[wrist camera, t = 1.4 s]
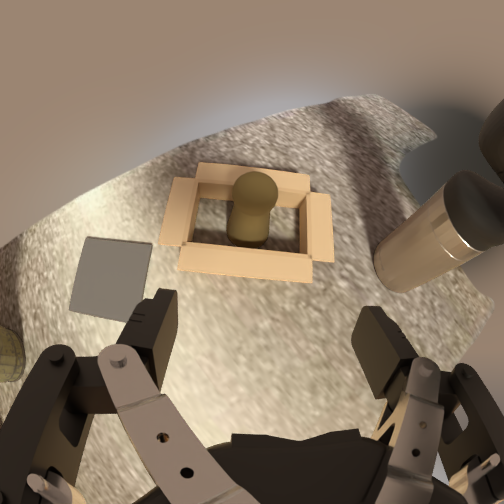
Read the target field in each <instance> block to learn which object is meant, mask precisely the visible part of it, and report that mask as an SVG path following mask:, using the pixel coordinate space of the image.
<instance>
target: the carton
mask: <svg viewBox="0 0 504 504" xmlns="http://www.w3.org/2000/svg"><path fill="white" fill-rule="evenodd" d="M252 171H258V172H262V173H265V174H267V175H268V176H270V177H271V178H272V179H273V180H274V182H275V183H276V185H277V188H278V199H277V202H276V205H275V206H281V207H289V208H296V209H299V230H300V254H299V253H289V252H280V251H270V250H261V249H251V248H242V247H232V246H222V245H213V244H203V243H193V242H192V239H193V234H194V228H195V222H196V217H197V211H198V206H199V201H200V198H208V199H219V200H229V201H233V198H232V187H233V185H234V183H235V181H236V180H237V179H238V178H239V177H240V176H241V175H243V174H245V173H247V172H252ZM158 244H160V245H169V246H179V247H181V250H180V256H179V262H178V268H177V270H182V271H191V272H200V273H209V274H218V275H228V276H238V277H248V278H258V279H269V280H280V281H291V282H303V283H312V260H314V261H324V262H334V244H333V227H332V213H331V201H330V195H328V194H321V193H315V192H310V178H309V175H305V174H298V173H292V172H285V171H278V170H271V169H263V168H255V167H246V166H237V165H227V164H216V163H204V162H199V163H198V167H197V172H196V176H195V178H184V177H174V179H173V183H172V187H171V191H170V194H169V198H168V202H167V206H166V210H165V214H164V219H163V223H162V227H161V232H160V236H159V241H158Z"/></svg>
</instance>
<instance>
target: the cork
mask: <svg viewBox="0 0 504 504" xmlns="http://www.w3.org/2000/svg"><path fill="white" fill-rule="evenodd" d="M232 198H233V201H234V206H233V209H232V212H231V215H230V218H229V221H228V223H227V230H226V232H227V235H228V238H229V239H230V241H231V242H232V243H233V244H234V245H236V246H237V247H242V248H251V249H255V248H258V247H260V246H261V245H263V244H264V242H265V241H266V240H267V238H268V235H269V223H270V211H271V210H272V208H273V207H274V206H275V205H276V202H277V199H278V188H277V185H276V183H275V182H274V180H273V179H272V178H271V177H270V176H268V175H267V174H265V173H262V172H258V171H252V172H247V173H245V174H243V175H241V176H240V177H239V178H238V179H237V180H236V181H235V183H234V185H233V187H232Z"/></svg>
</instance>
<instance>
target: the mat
mask: <svg viewBox="0 0 504 504" xmlns="http://www.w3.org/2000/svg"><path fill="white" fill-rule="evenodd" d="M152 247H153V246H152V245H148V244H139V243H129V242H120V241H111V240H101V239H92V238H86V239H85V242H84V246H83V249H82V253H81V257H80V260H79V264H78V268H77V273H76V277H75V281H74V286H73V291H72V295H71V301H70V306H69V310H70V311H74V312H78V313H82V314H86V315H91V316H95V317H100V318H105V319H110V320H115V321H120V322H125V323H127V321H129V318H130V316H131V314H132V312H133V311H134V309H135V307H136V305H137V304H138V303H140V302H141V301H142V300H143V294H144V288H145V282H146V277H147V272H148V266H149V261H150V256H151V251H152Z"/></svg>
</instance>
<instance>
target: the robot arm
mask: <svg viewBox="0 0 504 504" xmlns="http://www.w3.org/2000/svg"><path fill="white" fill-rule="evenodd" d="M479 147H480V150H481V152H482V154H483V156H484V157H485V159H486V160H487V162H488V163H489V165H490V166H491V167H492V169H493V170H494V171H495V172H496V174H497V175H498V176H499V178H500V179H501V180H502V182H503V183H504V99H503V100H502V101H501V102H500V103H499V104H498V105H497V106H496V108H495V109H494V110H493V111H492V112H491V113H490V115H489V116H488V118H487V119H486V120H485V122H484V124H483V126H482V128H481V130H480V134H479ZM502 244H504V188H501V187H499V186H497V185H494V184H493V183H491V182H489V181H488V180H486V179H485V178H483V177H482V176H480V175H478V174H477V173H474V172H472V171H469V170H462V171H460V172H458V173H456V174H455V175H454V176H453V177H452V178H451V179H450V180H449V181H448V182H447V183H445V185H443V186H442V187H441V189H439V190H438V192H436V193H435V194H434V195H433V196H432V197H431V198H430V199H429V200H428V201H427V202H426V203H424V205H422V206H421V207H420V208H419V209H418V210H417V211H416V212H415V213H414V214H412V215H411V216H410V217H409V218H408V219H407V220H406V221H405V222H403V223H402V224H401V225H400V226H399V227H398V228H397V229H395V230H394V231H393V232H392V233H391V234H390V235H388V236H387V237H386V238H385V239H384V240H382V241H381V242H380V243H379V244H378V246H377V247H376V250H375V253H374V266H375V270H376V273H377V275H378V277H379V279H380V280H381V282H382V283H383V284H384V285H385V286H386V287H387V288H388V289H390V290H392V291H394V292H397V293H404V292H407V291H410V290H412V289H414V288H416V287H418V286H420V285H422V284H424V283H427V282H429V281H431V280H433V279H435V278H437V277H439V276H441V275H442V274H444V273H446V272H448V271H450V270H452V269H454V268H456V267H458V266H460V265H461V264H463V263H465V262H467V261H469V260H470V259H472V258H474V257H476V256H477V255H479V254H480V253H482V252H484V251H486V250H488V249H489V248H491V247H493V246H498V245H502ZM177 329H178V301H177V291H176V290H170V289H162V288H159V289H158V290H157V292H156V294H155V296H154V298H153V299H147V298H145V299H144V300H142V301H141V302H140V303H138V304H137V305H136V307H135V309H134V311H133V312H132V314H131V316H130V318H129V321H127V323H126V325H125V327H124V329H123V331H122V333H121V335H120V336H119V338H118V340H117V342H116V344H114V345H110V346H108V347H106V348H104V349H103V350H102V351H101V352H100V353H99V355H98V356H94V357H76V356H75V353H74V351H73V350H72V349H71V348H70V347H68V346H66V345H62V344H58V345H53V346H50V347H48V348H46V349H45V350H44V351H43V352H42V353H41V355H40V357H39V358H38V360H37V362H36V363H35V365H34V367H33V368H32V370H31V372H30V373H29V375H28V377H27V379H26V380H25V382H24V384H23V386H22V388H21V389H20V391H19V393H18V395H17V397H16V399H15V401H14V403H13V405H12V407H11V409H10V411H9V413H8V415H7V417H6V419H5V421H4V423H3V426H2V428H1V430H0V504H86V502H85V499H84V497H83V496H82V494H81V493H80V492H79V491H78V490H77V489H76V488H74V487H75V483H76V478H77V474H78V470H79V466H80V462H81V458H82V455H83V451H84V447H85V444H86V440H87V437H88V434H89V430H90V427H91V424H92V421H93V418H94V415H95V414H118V416H119V419H120V421H121V423H122V425H123V427H124V429H125V431H126V433H127V435H128V437H129V439H130V441H131V443H132V445H133V447H134V448H135V450H136V452H137V454H138V456H139V458H140V459H141V461H142V463H143V465H144V466H145V468H146V470H147V471H148V473H149V475H150V476H151V478H152V479H153V481H154V482H155V484H156V487H155V488H153V489H152V490H151V491H149V492H148V493H147V494H145V495H144V496H142V497H141V498H140V499H138V500H137V501H135V502H134V503H132V504H498V503H500V502H501V501H503V500H504V416H503V415H502V413H501V411H500V409H499V407H498V406H497V404H496V402H495V401H494V399H493V398H492V396H491V394H490V392H489V391H488V389H487V388H486V386H485V385H484V383H483V382H482V380H481V378H480V377H479V375H478V374H477V372H476V371H475V370H474V369H473V368H472V367H471V366H469V365H467V364H464V363H459V364H457V365H456V366H455V367H454V369H453V371H452V372H446V371H440V369H439V367H438V365H437V364H436V363H435V362H433V361H432V360H430V359H428V358H425V357H419V356H418V354H417V353H416V351H415V350H414V348H413V347H412V345H411V344H410V342H409V341H408V339H406V336H405V335H404V333H402V330H401V329H400V328H399V326H398V325H397V323H395V322H394V321H393V320H392V319H390V318H389V317H388V316H387V315H386V314H385V312H384V311H383V309H382V308H381V307H380V306H364V307H363V308H362V310H361V312H360V315H359V318H358V320H357V323H356V325H355V328H354V330H353V333H352V338H351V343H352V347H353V349H354V351H355V353H356V356H357V358H358V360H359V362H360V365H361V367H362V369H363V371H364V374H365V376H366V378H367V381H368V383H369V385H370V388H371V390H372V392H373V395H374V397H375V399H383V398H386V399H387V402H386V403H385V405H384V407H383V409H382V412H381V415H380V417H379V420H378V422H377V425H376V427H375V430H374V432H373V434H372V436H371V438H366V437H361V436H360V432H359V429H351V430H343V431H334V432H329V433H326V434H323V435H319V436H316V437H313V438H310V439H306V440H303V441H296V440H290V439H284V438H279V437H274V436H269V435H254V434H232V435H231V442H226V443H221V444H217V445H214V446H211V447H208V448H205V447H204V446H203V445H202V443H201V442H200V441H199V439H198V438H197V437H196V435H195V434H194V433H193V431H192V430H191V429H190V427H189V426H188V425H187V423H186V422H185V420H184V419H183V418H182V416H181V415H180V413H179V412H178V410H177V409H176V407H175V406H174V404H173V403H172V401H171V400H170V399H169V397H168V396H167V395H166V394H161V393H160V391H161V388H162V384H163V380H164V377H165V373H166V369H167V366H168V362H169V359H170V355H171V352H172V348H173V345H174V341H175V338H176V334H177ZM460 404H461V405H462V407H463V409H464V410H465V412H466V414H467V416H468V420H469V422H468V426H467V428H466V429H465V430H464V431H462V429H461V427H460V424H459V422H458V420H457V418H456V416H455V414H454V411H455V410H456V409H457V408H458V407H459V405H460ZM437 451H438V453H439V455H440V458H441V461H442V464H443V466H444V469H445V472H446V475H447V478H448V481H449V486H448V485H446V484H444V483H443V482H441V481H440V480H438V479H436V478H435V477H433V476H432V473H433V469H434V465H435V460H436V456H437Z"/></svg>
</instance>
